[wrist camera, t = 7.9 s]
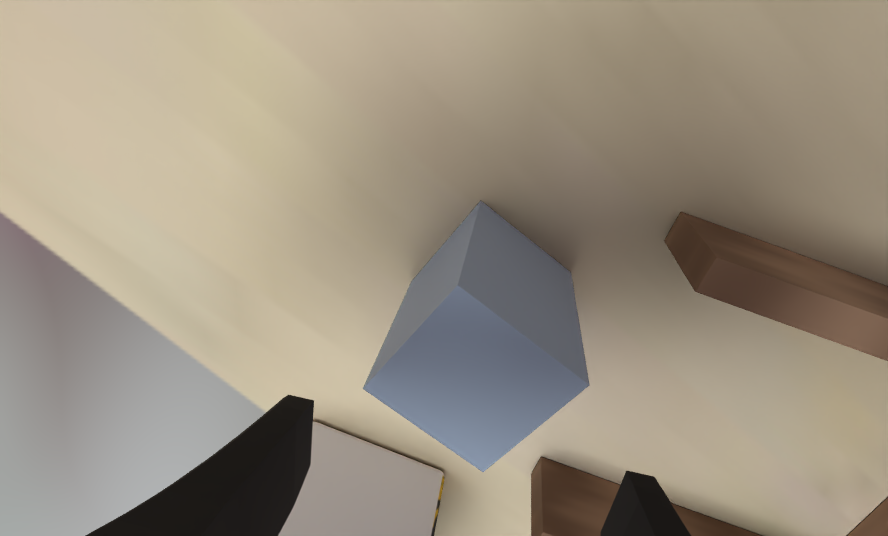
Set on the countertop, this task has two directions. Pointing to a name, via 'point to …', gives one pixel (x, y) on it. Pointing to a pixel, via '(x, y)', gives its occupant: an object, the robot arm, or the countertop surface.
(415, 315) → the blue block
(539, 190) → the countertop surface
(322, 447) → the medicine bottle
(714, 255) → the walnut bay
